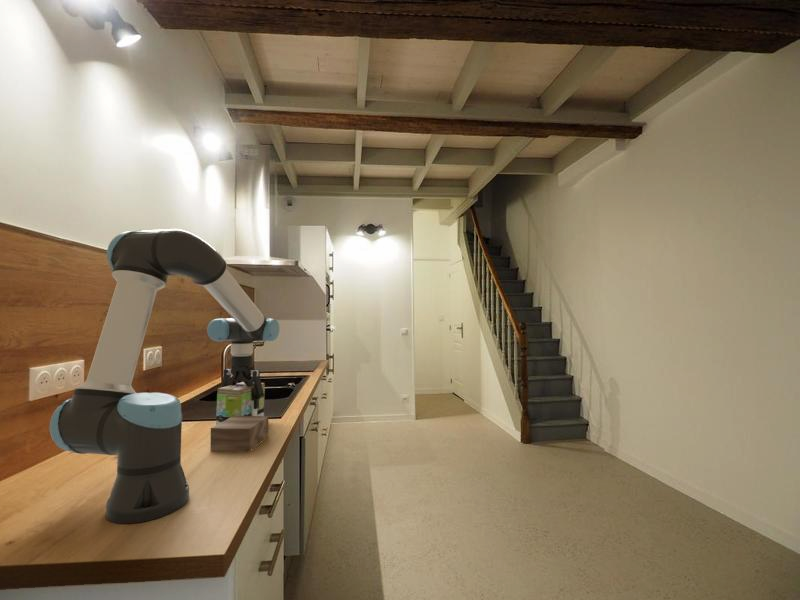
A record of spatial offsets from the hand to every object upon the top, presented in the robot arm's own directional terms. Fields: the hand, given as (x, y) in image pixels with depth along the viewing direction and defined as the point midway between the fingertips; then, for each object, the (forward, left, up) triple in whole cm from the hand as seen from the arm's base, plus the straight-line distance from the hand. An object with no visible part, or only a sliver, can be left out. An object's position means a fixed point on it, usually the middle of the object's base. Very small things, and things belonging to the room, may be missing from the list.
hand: (241, 416), depth 143 cm
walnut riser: (-15, -12, -4) cm, 19 cm away
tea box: (0, 0, -4) cm, 4 cm away
